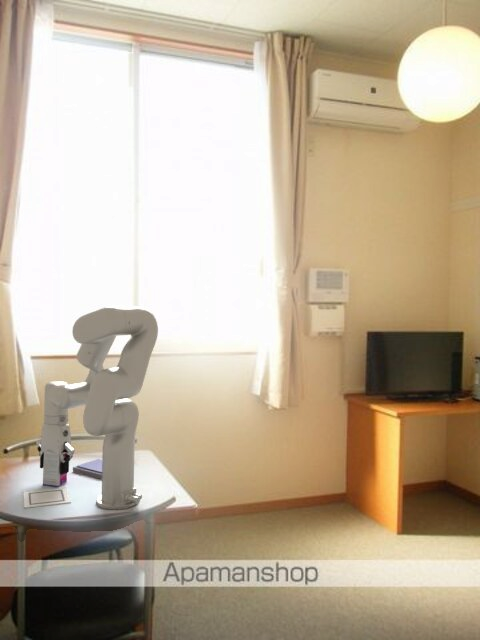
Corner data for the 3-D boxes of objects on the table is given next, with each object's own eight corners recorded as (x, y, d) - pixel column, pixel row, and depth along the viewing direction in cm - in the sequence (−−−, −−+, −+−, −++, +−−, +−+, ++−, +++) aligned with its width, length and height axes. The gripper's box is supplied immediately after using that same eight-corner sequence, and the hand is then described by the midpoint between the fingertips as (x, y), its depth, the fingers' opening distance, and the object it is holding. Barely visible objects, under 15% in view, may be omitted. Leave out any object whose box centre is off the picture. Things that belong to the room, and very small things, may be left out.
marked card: (70, 502, 163) (70, 501, 163) (24, 508, 157) (24, 506, 157) (66, 488, 175) (66, 487, 174) (23, 493, 169) (23, 491, 169)
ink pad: (125, 470, 195) (125, 464, 195) (101, 479, 184) (101, 473, 184) (97, 463, 202) (98, 457, 202) (72, 471, 192) (72, 465, 191)
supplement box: (58, 487, 175) (59, 452, 175) (42, 485, 176) (42, 451, 176) (67, 481, 181) (68, 448, 181) (51, 480, 182) (52, 446, 182)
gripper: (82, 421, 177) (81, 472, 178) (47, 413, 186) (46, 462, 186) (64, 425, 170) (63, 478, 171) (29, 417, 179) (27, 467, 180)
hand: (54, 470), depth 179 cm, fingers open, 9 cm apart
